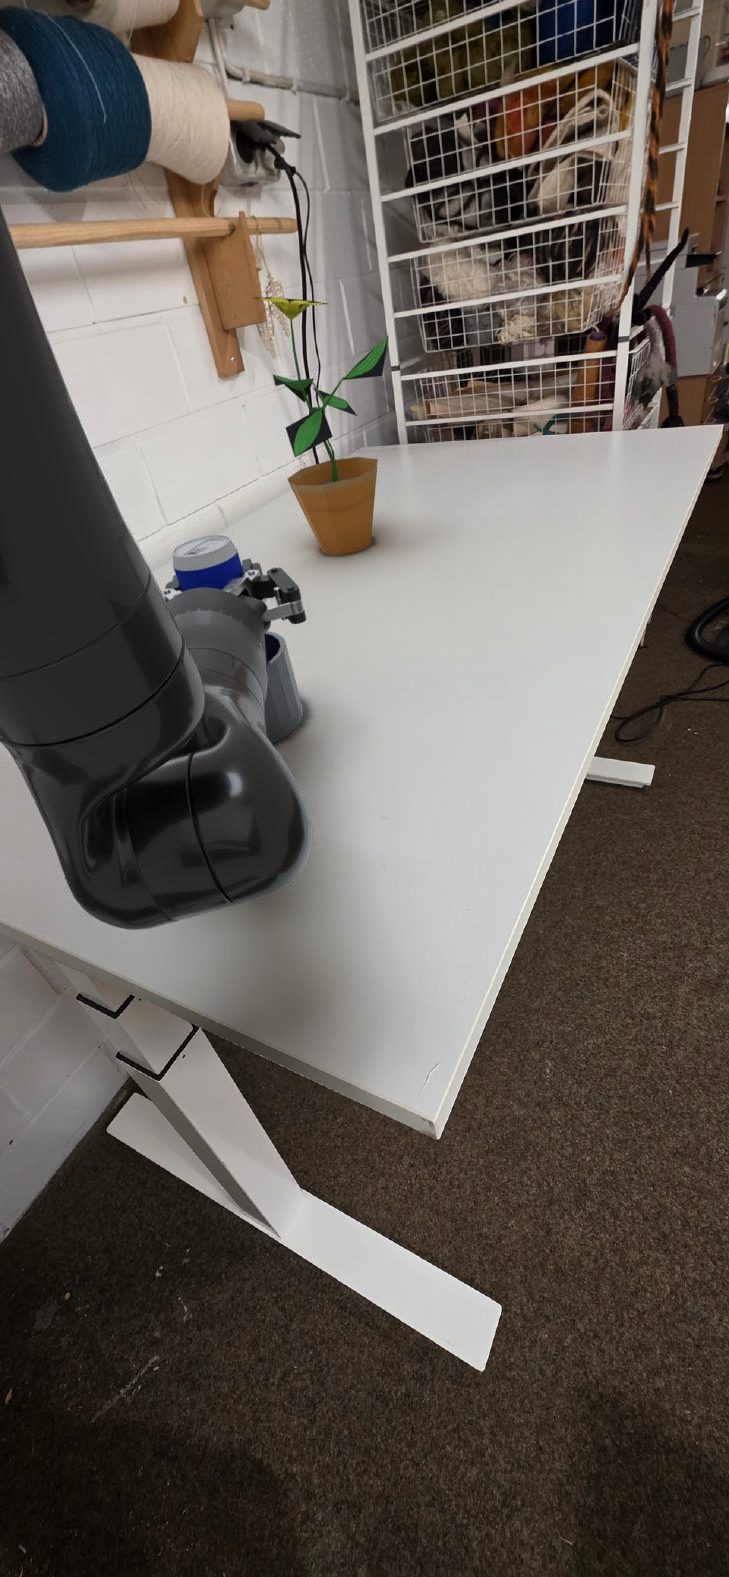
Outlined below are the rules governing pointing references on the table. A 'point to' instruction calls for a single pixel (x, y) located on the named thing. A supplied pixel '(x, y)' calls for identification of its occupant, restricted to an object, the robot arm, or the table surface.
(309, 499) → the potted plant
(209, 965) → the table surface
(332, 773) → the table surface
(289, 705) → the grey pen holder cup
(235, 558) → the beverage can
